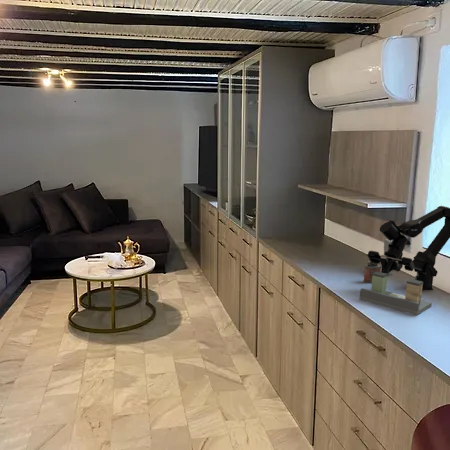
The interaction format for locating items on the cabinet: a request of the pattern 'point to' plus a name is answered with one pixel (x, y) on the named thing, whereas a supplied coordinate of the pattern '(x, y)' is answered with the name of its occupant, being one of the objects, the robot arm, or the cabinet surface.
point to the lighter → (370, 271)
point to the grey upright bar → (386, 243)
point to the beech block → (414, 290)
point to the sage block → (379, 282)
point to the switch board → (394, 301)
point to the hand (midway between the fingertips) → (382, 276)
